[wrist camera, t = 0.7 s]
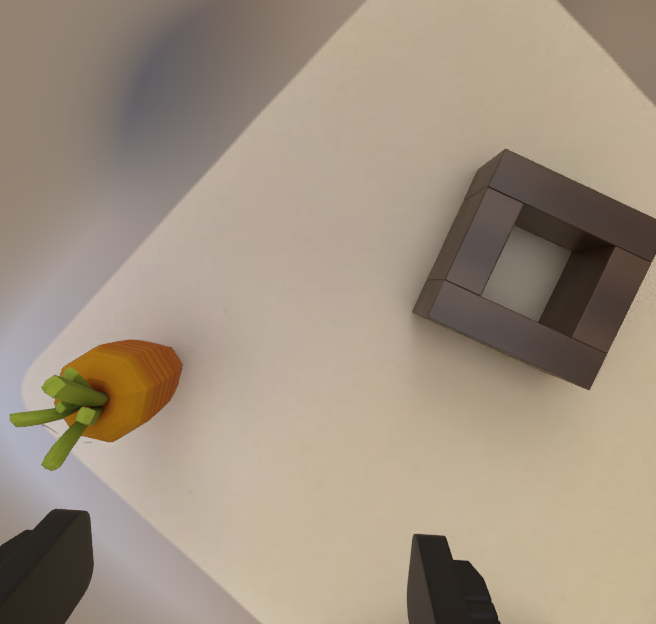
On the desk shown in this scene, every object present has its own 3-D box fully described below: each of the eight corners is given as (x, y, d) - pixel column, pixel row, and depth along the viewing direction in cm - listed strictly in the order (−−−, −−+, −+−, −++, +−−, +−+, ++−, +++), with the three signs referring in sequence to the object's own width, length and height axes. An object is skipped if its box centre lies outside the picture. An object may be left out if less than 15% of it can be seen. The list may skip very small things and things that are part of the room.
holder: (477, 168, 33) (505, 147, 28) (618, 234, 33) (670, 225, 28) (411, 312, 33) (427, 316, 28) (550, 374, 34) (589, 390, 29)
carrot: (179, 408, 34) (64, 506, 19) (123, 368, 34) (-38, 435, 19) (219, 353, 34) (134, 409, 19) (163, 313, 33) (32, 336, 18)
